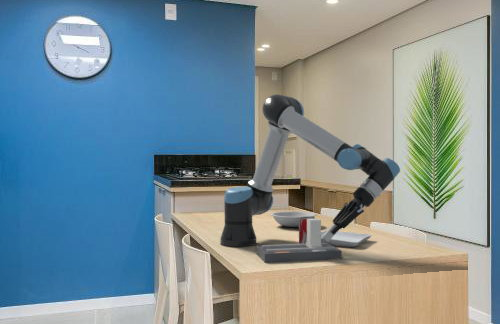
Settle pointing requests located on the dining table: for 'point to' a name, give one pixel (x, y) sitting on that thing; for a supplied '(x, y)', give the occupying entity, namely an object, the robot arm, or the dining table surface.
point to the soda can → (303, 229)
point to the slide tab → (313, 233)
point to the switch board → (297, 252)
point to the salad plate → (346, 239)
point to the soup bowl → (290, 217)
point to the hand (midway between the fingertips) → (324, 239)
